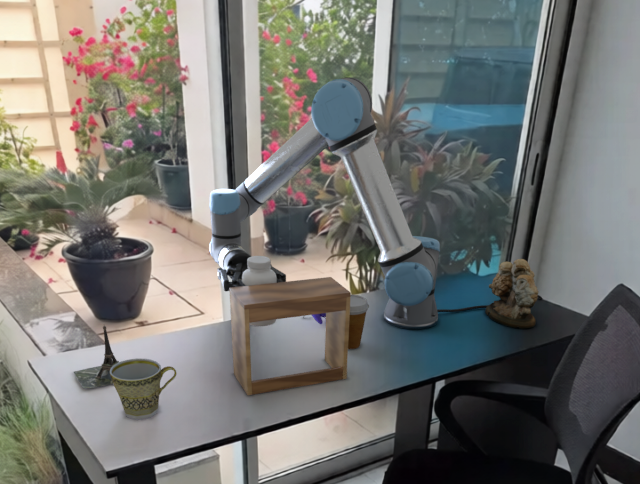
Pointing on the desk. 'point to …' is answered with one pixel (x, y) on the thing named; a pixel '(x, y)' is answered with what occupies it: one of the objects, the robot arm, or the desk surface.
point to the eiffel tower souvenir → (98, 369)
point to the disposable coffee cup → (356, 320)
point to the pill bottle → (259, 278)
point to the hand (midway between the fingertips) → (265, 293)
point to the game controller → (318, 317)
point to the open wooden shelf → (285, 304)
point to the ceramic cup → (139, 386)
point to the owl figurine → (513, 295)
